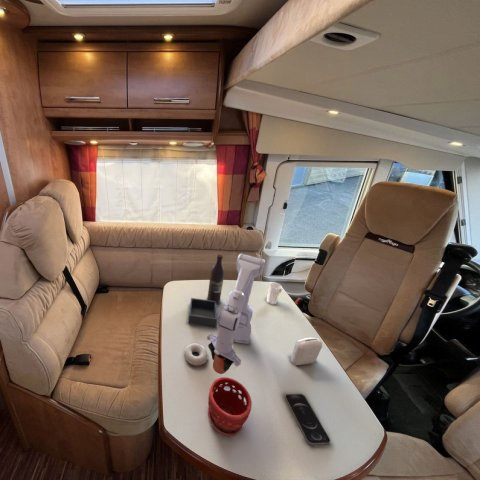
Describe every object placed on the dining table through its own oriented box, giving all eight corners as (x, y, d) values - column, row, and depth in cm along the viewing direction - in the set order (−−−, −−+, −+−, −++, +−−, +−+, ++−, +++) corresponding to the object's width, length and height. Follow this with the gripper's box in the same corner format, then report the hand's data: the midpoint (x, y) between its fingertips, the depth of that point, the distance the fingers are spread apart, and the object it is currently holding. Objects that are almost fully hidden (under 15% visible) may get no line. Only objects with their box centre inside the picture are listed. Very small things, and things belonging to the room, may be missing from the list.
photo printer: (295, 366, 97) (303, 345, 92) (288, 357, 101) (296, 337, 96) (316, 363, 99) (326, 342, 94) (309, 354, 103) (317, 334, 97)
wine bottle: (206, 304, 131) (212, 257, 119) (207, 296, 138) (213, 251, 125) (219, 306, 130) (226, 259, 117) (220, 298, 136) (227, 253, 123)
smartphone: (303, 394, 86) (332, 442, 73) (303, 395, 87) (331, 444, 73) (284, 394, 86) (308, 443, 73) (283, 395, 87) (308, 445, 73)
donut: (182, 365, 97) (207, 369, 95) (183, 359, 96) (207, 363, 94) (185, 345, 106) (207, 349, 104) (185, 339, 105) (208, 343, 103)
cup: (262, 299, 136) (266, 283, 131) (270, 296, 138) (275, 281, 134) (271, 306, 131) (276, 290, 126) (280, 303, 133) (285, 287, 128)
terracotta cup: (226, 362, 92) (229, 348, 89) (227, 375, 88) (230, 360, 84) (212, 360, 93) (215, 346, 90) (212, 372, 88) (215, 358, 85)
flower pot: (248, 444, 73) (255, 422, 68) (205, 435, 75) (209, 413, 70) (242, 401, 85) (248, 379, 79) (205, 394, 87) (209, 372, 81)
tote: (215, 308, 128) (216, 301, 126) (215, 327, 116) (217, 319, 114) (190, 305, 130) (190, 297, 128) (188, 323, 118) (189, 315, 116)
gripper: (202, 330, 87) (199, 355, 93) (233, 359, 76) (227, 385, 82) (216, 322, 91) (212, 346, 96) (247, 348, 80) (240, 374, 86)
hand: (220, 363), depth 90 cm, fingers closed on terracotta cup, 5 cm apart
